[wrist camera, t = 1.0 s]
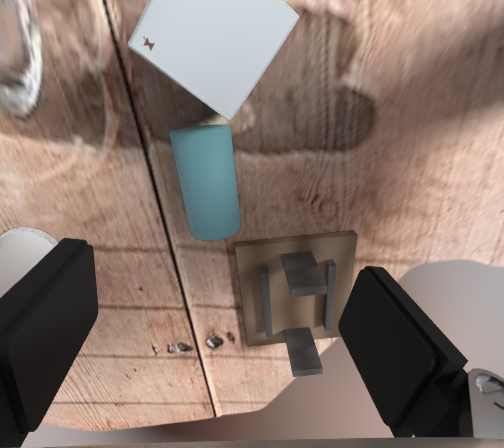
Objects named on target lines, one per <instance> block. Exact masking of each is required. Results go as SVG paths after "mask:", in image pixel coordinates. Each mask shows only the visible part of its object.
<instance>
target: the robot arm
mask: <svg viewBox="0 0 504 448" xmlns="http://www.w3.org/2000/svg"><path fill="white" fill-rule="evenodd" d="M97 315H98V299H97V287H96V276H95V264H94V252H93V247H92V245H88V244H87V241H86V240H82V239H71V238H64V239H62V240H61V241H60V242H59V243H58V244H57V245H56V246H55V247H54V248H53V249H52V250H51V251H50V252H49V253H48V254H46V255H45V256H44V257H43V258H42V259H41V260H40V261H39V262H38V263H37V264H36V265H35V266H34V267H33V268H32V269H31V270H30V271H29V272H28V273H27V274H26V275H25V276H23V277H22V278H21V279H20V280H19V281H18V282H16V283H15V284H14V285H13V286H12V287H11V288H10V289H9V290H8V291H7V292H6V293H5V294H4V295H3V296H2V297H1V298H0V448H20V447H21V445H22V443H23V442H24V440H25V438H26V436H27V435H28V433H29V432H34V431H35V430H36V429H37V428H38V427H39V425H40V423H41V422H42V420H43V418H44V416H45V414H46V412H47V410H48V409H49V407H50V405H51V403H52V401H53V399H54V397H55V395H56V394H57V392H58V390H59V388H60V386H61V384H62V382H63V381H64V379H65V377H66V375H67V373H68V371H69V369H70V368H71V366H72V364H73V362H74V360H75V358H76V356H77V354H78V353H79V351H80V349H81V347H82V345H83V343H84V341H85V340H86V338H87V336H88V334H89V332H90V330H91V328H92V326H93V325H94V323H95V321H96V319H97ZM338 329H339V332H340V334H341V336H342V338H343V340H344V342H345V344H346V346H347V348H348V350H349V353H350V355H351V357H352V359H353V361H354V363H355V365H356V367H357V369H358V371H359V373H360V375H361V377H362V379H363V381H364V383H365V385H366V387H367V390H368V392H369V394H370V396H371V398H372V400H373V402H374V404H375V406H376V408H377V410H378V412H379V414H380V416H381V418H382V420H383V422H384V423H385V424H386V425H387V426H389V427H390V429H391V432H392V434H393V435H394V438H349V439H302V440H261V441H260V440H259V441H221V442H220V441H218V442H183V443H149V444H115V445H87V446H67V447H46V448H504V379H503V378H502V377H500V376H498V375H496V374H494V373H492V372H490V371H487V370H484V369H479V368H478V369H472V370H471V371H469V372H468V374H467V373H466V371H465V370H464V369H463V367H464V366H465V364H466V363H467V361H468V360H467V359H466V358H465V357H464V356H463V354H462V353H461V352H460V351H459V350H458V349H457V348H456V347H455V346H454V345H453V344H452V342H451V341H450V340H449V339H448V338H447V337H446V336H445V335H444V334H443V333H442V332H441V330H440V329H439V328H438V327H437V326H436V325H435V324H434V323H433V321H432V320H431V319H430V318H429V317H428V316H427V315H426V314H425V313H424V312H423V310H422V309H421V308H420V307H419V306H418V305H417V304H416V303H415V302H414V301H413V300H412V298H411V297H410V296H409V295H408V294H407V293H406V292H405V291H404V290H403V289H402V287H401V286H400V285H399V284H398V283H397V282H396V281H395V280H394V279H393V277H392V276H391V275H390V274H389V273H388V272H387V271H386V270H385V269H384V268H382V267H374V266H366V267H365V268H364V269H362V270H361V271H360V272H359V274H358V277H357V279H356V281H355V284H354V286H353V289H352V291H351V293H350V296H349V298H348V301H347V303H346V306H345V308H344V310H343V313H342V315H341V318H340V320H339V323H338ZM413 434H414V436H415V437H412V436H413Z"/></svg>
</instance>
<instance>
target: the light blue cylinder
mask: <svg viewBox="0 0 504 448" xmlns="http://www.w3.org/2000/svg"><path fill="white" fill-rule="evenodd" d="M169 135H170V140H171V145H172V149H173V154H174V159H175V164H176V168H177V173H178V178H179V182H180V187H181V192H182V196H183V201H184V206H185V211H186V215H187V220H188V225H189V229H190V234H191V235H192V236H193V237H194V238H196V239H199V240H205V241H213V240H220V239H224V238H227V237H230V236H232V235H234V234H235V233H237V232H238V231H239V230H240V228H241V217H240V209H239V200H238V191H237V182H236V173H235V164H234V155H233V146H232V137H231V128H230V126H229V125H203V126H193V127H187V128H182V129H177V130H174V131H171V132H170V133H169Z"/></svg>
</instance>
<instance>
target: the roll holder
mask: <svg viewBox="0 0 504 448" xmlns="http://www.w3.org/2000/svg"><path fill="white" fill-rule="evenodd" d="M356 242H357V234H356V233H355V231H354V230H352V231H343V232H333V233H323V234H313V235H303V236H293V237H283V238H273V239H263V240H253V241H243V242H235V250H236V258H237V266H238V274H239V281H240V289H241V297H242V305H243V312H244V320H245V328H246V336H247V343H248V347H249V346H258V345H267V344H277V343H286V344H287V349H288V354H289V359H290V364H291V369H292V374H293V377H297V376H305V375H315V374H322V369H323V368H322V365H321V362H320V358H319V355H318V352H317V349H316V346H315V342H314V339H323V338H333V337H342V336H341V334H340V332H339V329H338V323H339V320H340V318H341V315H342V313H343V310H344V308H345V306H346V303H347V301H348V298H349V296H350V293H351V287H352V278H353V269H354V260H355V251H356Z"/></svg>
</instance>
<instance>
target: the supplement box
mask: <svg viewBox="0 0 504 448" xmlns="http://www.w3.org/2000/svg"><path fill="white" fill-rule="evenodd" d="M298 19H299V15H298V14H297V13H295V12H294V11H293V10H292V9H291V8H290V7H289V6H288V5H287V4H286V3H285V1H284V0H148V2H147V4H146V7H145V9H144V11H143V13H142V15H141V17H140V19H139V21H138V24H137V26H136V28H135V30H134V32H133V34H132V36H131V38H130V40H129V42H128V47H129V48H130V49H131V50H133V51H134V52H135V53H137V54H138V55H139V56H141V57H142V58H143V59H145V60H146V61H147V62H149V63H150V64H152V65H153V66H154V67H156V68H157V69H158V70H160V71H161V72H162V73H164V74H165V75H166V76H168V77H169V78H170V79H172V80H173V81H174V82H176V83H177V84H179V85H180V86H181V87H183V88H184V89H185V90H187V91H188V92H190V93H191V94H192V95H194V96H195V97H196V98H198V99H199V100H201V101H202V102H203V103H205V104H206V105H208V106H209V107H210V108H212V109H213V110H214V111H216V112H217V113H219V114H220V115H221V116H223V117H224V118H225V119H227V120H228V121H230V120H231V119H232V118H233V117H234V115H235V114H236V112H237V111H238V110H239V108H240V107H241V105H242V104H243V103H244V101H245V100H246V98H247V97H248V95H249V94H250V92H251V91H252V90H253V88H254V87H255V85H256V84H257V82H258V81H259V79H260V78H261V76H262V75H263V73H264V72H265V70H266V69H267V67H268V66H269V64H270V63H271V61H272V59H273V58H274V56H275V55H276V53H277V52H278V50H279V49H280V47H281V46H282V44H283V43H284V41H285V39H286V38H287V36H288V35H289V33H290V32H291V30H292V28H293V27H294V25H295V24H296V22H297V20H298Z"/></svg>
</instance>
